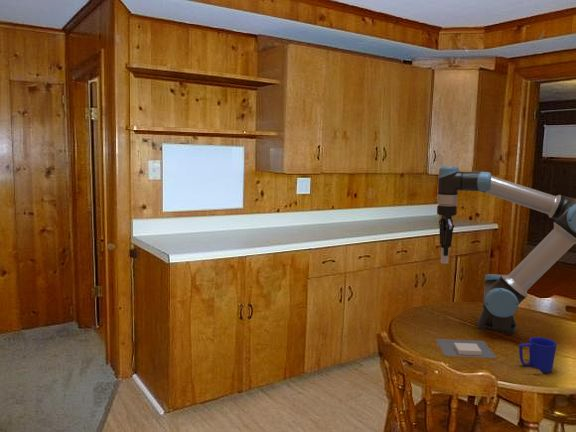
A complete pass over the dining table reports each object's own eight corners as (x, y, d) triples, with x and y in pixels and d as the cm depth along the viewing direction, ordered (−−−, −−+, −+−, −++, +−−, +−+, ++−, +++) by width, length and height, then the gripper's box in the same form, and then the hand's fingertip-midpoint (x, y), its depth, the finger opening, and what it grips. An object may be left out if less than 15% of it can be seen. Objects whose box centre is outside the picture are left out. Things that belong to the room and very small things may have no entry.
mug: (511, 365, 168) (513, 337, 167) (544, 364, 169) (546, 336, 168) (525, 375, 160) (527, 346, 159) (559, 374, 161) (562, 345, 160)
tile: (476, 343, 178) (481, 351, 172) (475, 348, 179) (481, 355, 172) (453, 342, 179) (458, 350, 172) (453, 347, 179) (458, 354, 172)
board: (483, 344, 186) (483, 340, 186) (496, 361, 170) (497, 357, 170) (435, 342, 188) (435, 338, 188) (444, 359, 172) (444, 355, 172)
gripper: (433, 203, 199) (431, 259, 202) (442, 206, 186) (439, 266, 189) (451, 203, 199) (449, 259, 202) (461, 206, 186) (458, 266, 189)
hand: (444, 263), depth 196 cm, fingers closed
